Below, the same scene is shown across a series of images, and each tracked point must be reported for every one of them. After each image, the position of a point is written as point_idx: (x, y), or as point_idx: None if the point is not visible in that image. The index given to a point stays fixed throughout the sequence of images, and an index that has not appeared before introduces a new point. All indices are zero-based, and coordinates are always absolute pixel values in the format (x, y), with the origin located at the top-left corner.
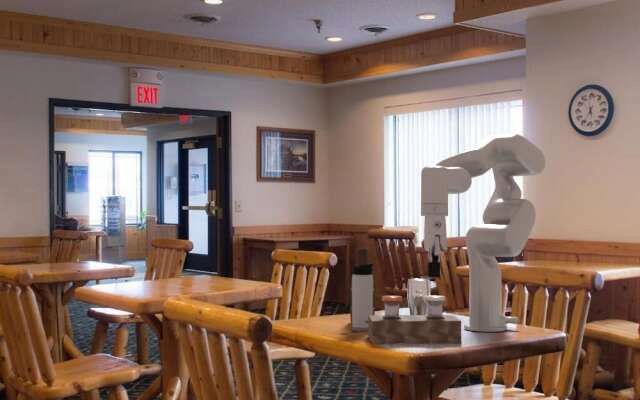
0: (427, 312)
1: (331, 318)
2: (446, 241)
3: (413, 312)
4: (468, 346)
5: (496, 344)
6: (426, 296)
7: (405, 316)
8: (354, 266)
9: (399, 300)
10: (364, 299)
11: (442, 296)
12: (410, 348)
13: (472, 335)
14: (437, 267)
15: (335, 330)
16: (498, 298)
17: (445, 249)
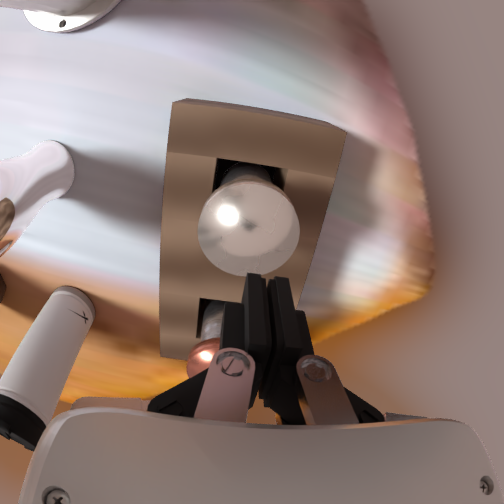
0: (32, 161)
1: None
2: (502, 493)
3: (40, 209)
4: (376, 125)
5: (365, 34)
6: (235, 268)
7: (192, 280)
8: (9, 438)
9: None
10: (67, 365)
11: (250, 197)
12: (354, 273)
13: (181, 30)
14: (310, 341)
15: (88, 350)
16: None
17: (471, 431)
